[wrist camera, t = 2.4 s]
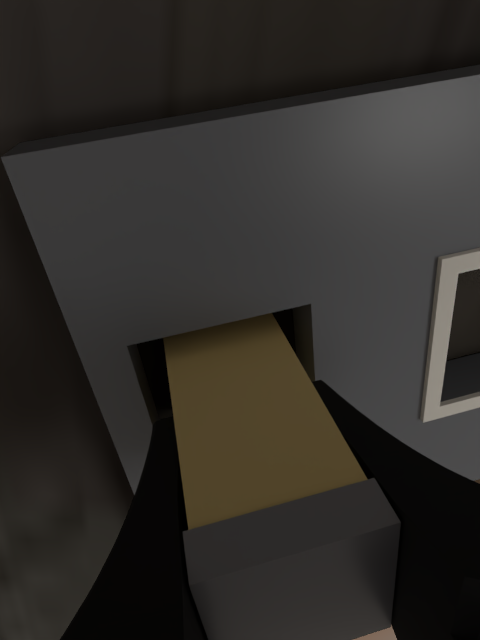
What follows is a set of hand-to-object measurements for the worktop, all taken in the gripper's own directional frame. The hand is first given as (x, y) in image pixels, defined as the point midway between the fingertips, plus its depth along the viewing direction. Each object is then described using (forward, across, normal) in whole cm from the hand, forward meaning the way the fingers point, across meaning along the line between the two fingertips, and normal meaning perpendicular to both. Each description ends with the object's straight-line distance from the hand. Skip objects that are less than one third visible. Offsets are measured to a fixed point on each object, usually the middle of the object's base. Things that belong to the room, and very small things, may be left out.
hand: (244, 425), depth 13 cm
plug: (+3, 0, 0) cm, 3 cm away
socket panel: (+3, -5, 0) cm, 6 cm away
